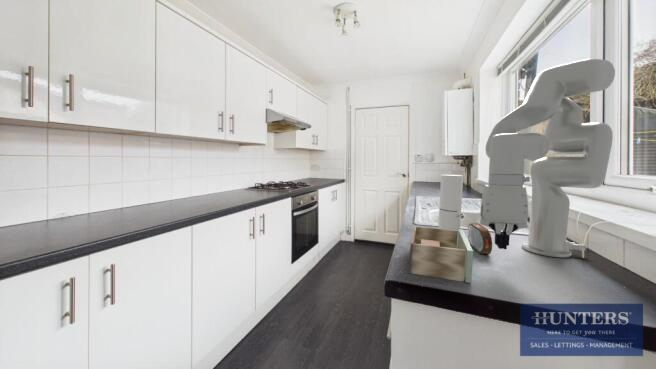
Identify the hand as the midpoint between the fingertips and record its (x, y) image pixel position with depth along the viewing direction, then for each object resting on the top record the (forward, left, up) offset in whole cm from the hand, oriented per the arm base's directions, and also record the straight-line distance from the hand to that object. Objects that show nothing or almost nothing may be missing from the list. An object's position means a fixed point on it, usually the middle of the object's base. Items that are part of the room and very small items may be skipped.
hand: (501, 247), depth 69 cm
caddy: (+17, +2, -6) cm, 18 cm away
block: (+18, +2, -6) cm, 19 cm away
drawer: (+15, +2, -6) cm, 17 cm away
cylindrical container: (+12, -20, -7) cm, 24 cm away
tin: (+3, -17, -7) cm, 19 cm away
